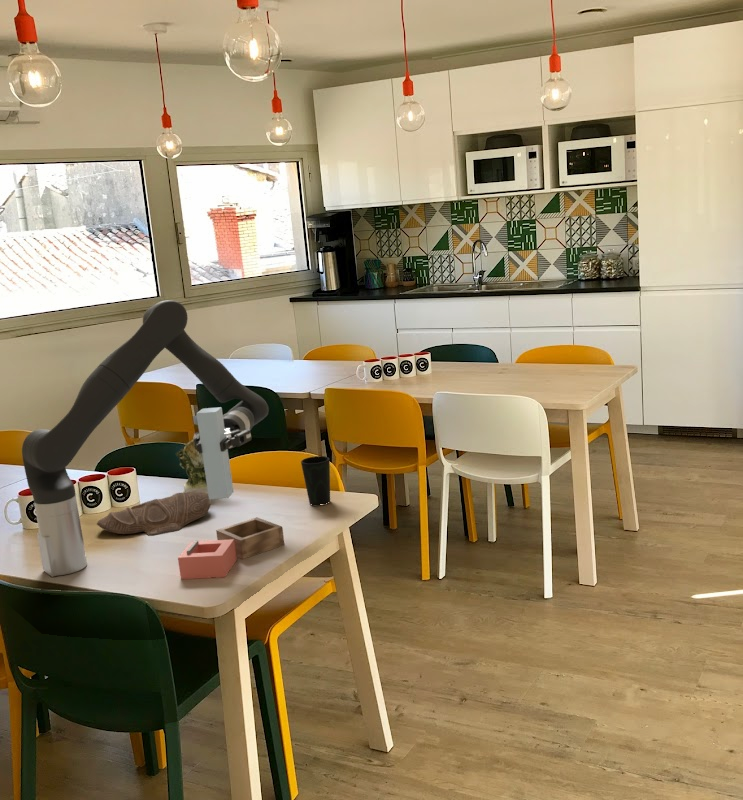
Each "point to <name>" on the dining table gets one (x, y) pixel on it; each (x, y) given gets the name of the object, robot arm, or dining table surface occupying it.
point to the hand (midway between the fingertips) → (210, 447)
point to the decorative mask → (158, 514)
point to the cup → (317, 479)
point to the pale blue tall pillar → (214, 453)
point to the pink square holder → (207, 559)
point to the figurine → (193, 468)
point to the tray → (252, 536)
